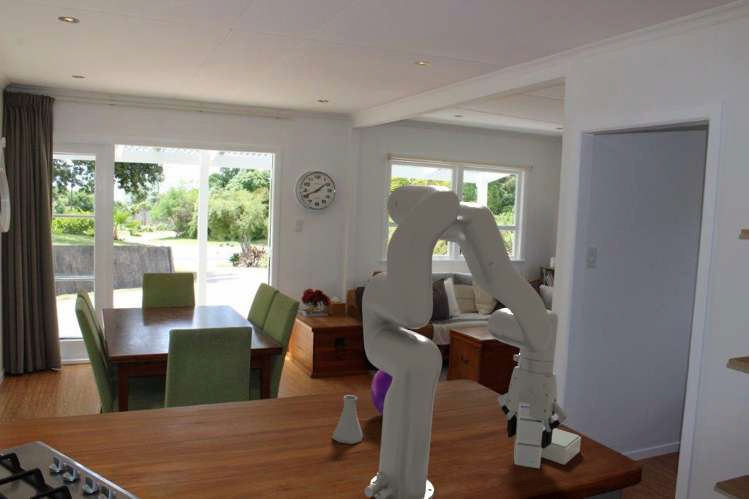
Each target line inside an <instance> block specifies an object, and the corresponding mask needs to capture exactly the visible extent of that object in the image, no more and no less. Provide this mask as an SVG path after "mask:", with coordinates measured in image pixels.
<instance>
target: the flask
mask: <svg viewBox="0 0 749 499" xmlns="http://www.w3.org/2000/svg"><path fill="white" fill-rule="evenodd" d="M357 400H358V396H356V395H354V394H353V395H352V394H347V395H344V396H343V401H344V404H343V409H342V413H341V416H340V418H339V420H338V423H337V425H336V427H335V429H334V432H333V433H332V436H331V439H332V440H335V441H336V442H338V443H342V444H349V445H353V444H356V443H360V442H361V441H362V440H363V438H364V434H363V431H362V427H361V424H360V422H359V418H358V413H357Z"/></svg>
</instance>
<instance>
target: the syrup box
mask: <svg viewBox="0 0 749 499" xmlns="http://www.w3.org/2000/svg"><path fill="white" fill-rule="evenodd" d="M530 407H531V406H530V403H527V402H519V409H518V413H517V415H516V417H517V424H516V435H514V436H515V438H514V449H513V450H514V452H513V460H514V462H513V463H514V465H515V466H522V467H527V468H536V469H540V468H541V460H542V457H541V452H542V447H541V443H542V433H543V427H544V424H543V423H544V420H538V419H535V418H532V417H530V416H529V411H530Z"/></svg>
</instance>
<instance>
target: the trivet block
mask: <svg viewBox="0 0 749 499" xmlns="http://www.w3.org/2000/svg"><path fill="white" fill-rule="evenodd" d="M544 430H545V427H543V431H544ZM581 440H582V436H580V435H578V434H575V433H572V432H570V431H569V432H568V431H565V430H562V429H559V428H557V427H556V428H555V429H553V433H552V442H551V444H550V445H549V446H547V447H546V448H545V449H543V448H542V452H541V458H543V459H546V460H550V461H553V462H555V463H558V464H561V465H563V466H564V465H566V464H568V462H570V460H572V459H573V458H574V457H575V456H576V455H578V454H579V452H580V451H581Z"/></svg>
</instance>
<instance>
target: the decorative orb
mask: <svg viewBox="0 0 749 499" xmlns="http://www.w3.org/2000/svg"><path fill="white" fill-rule="evenodd" d="M392 379H393V377H392V376H390V375H389V374H387V373H386V372H384V371H382V370H380V369H378V370H377V372H376V374H375V375H374V376H373V378H372V380H371V385H370V397H371V400H372V404H373V405H374V407H375V409H376V410H377V411H378V413H380V414H381V415H382V416H383V408H384V400H385V396H386V393H387V391H388V389H389V387H390V385H391V383H392Z"/></svg>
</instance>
